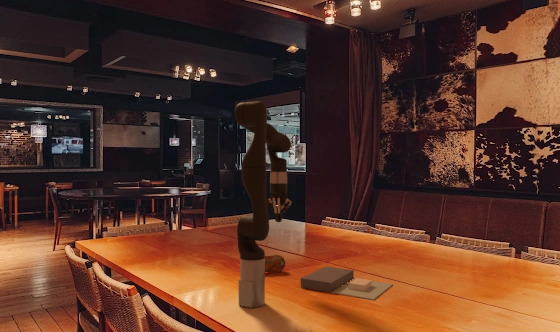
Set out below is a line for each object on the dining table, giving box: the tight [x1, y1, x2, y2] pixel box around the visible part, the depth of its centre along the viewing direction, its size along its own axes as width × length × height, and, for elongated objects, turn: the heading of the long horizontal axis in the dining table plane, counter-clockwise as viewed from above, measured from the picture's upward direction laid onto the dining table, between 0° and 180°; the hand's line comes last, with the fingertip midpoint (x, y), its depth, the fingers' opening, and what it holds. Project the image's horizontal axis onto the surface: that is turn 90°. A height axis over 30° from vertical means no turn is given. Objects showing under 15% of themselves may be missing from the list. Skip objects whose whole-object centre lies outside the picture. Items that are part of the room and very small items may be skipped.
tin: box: [265, 254, 286, 273], centre depth 206 cm, size 15×3×8 cm, turn 105°
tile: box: [348, 277, 373, 291], centre depth 180 cm, size 9×7×2 cm
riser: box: [300, 265, 355, 294], centre depth 188 cm, size 24×14×4 cm, turn 148°
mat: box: [331, 277, 394, 301], centre depth 179 cm, size 24×18×1 cm
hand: (278, 221), depth 187 cm, fingers closed
